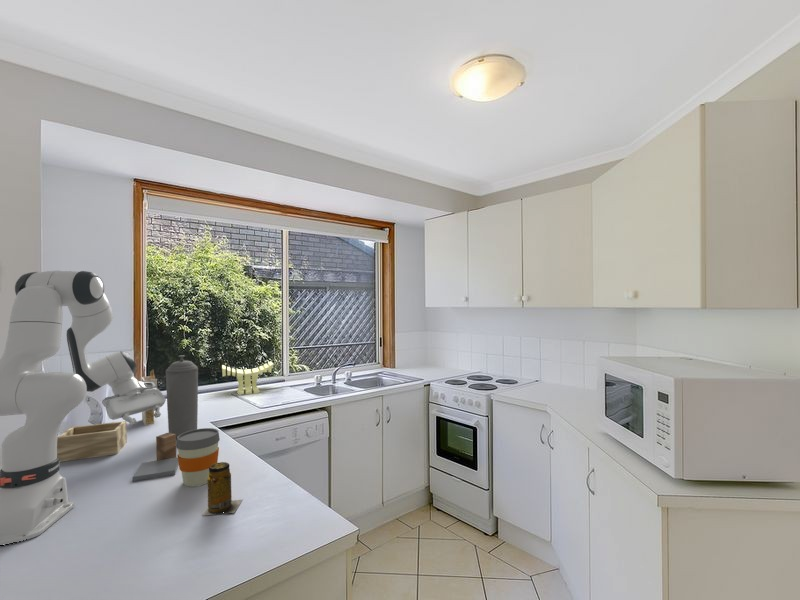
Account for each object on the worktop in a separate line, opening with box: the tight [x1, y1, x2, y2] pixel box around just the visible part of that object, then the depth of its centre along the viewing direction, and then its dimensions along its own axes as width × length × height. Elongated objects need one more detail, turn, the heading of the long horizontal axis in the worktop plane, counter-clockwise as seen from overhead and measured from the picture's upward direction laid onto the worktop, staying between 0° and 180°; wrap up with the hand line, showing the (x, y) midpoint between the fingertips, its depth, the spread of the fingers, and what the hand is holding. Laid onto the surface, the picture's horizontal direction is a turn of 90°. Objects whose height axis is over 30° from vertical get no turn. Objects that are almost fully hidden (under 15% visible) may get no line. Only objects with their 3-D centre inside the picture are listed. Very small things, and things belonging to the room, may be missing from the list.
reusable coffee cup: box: [176, 427, 221, 487], centre depth 126 cm, size 13×13×15 cm
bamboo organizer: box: [57, 420, 128, 463], centre depth 152 cm, size 13×18×9 cm
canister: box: [165, 354, 199, 439], centre depth 170 cm, size 13×13×35 cm
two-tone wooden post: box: [140, 369, 158, 426], centre depth 191 cm, size 8×12×26 cm
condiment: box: [202, 461, 243, 516], centre depth 109 cm, size 7×8×12 cm
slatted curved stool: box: [221, 361, 274, 395], centre depth 251 cm, size 30×16×18 cm, turn 114°
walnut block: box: [155, 432, 177, 461], centre depth 143 cm, size 4×4×9 cm
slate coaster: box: [132, 456, 179, 482], centre depth 134 cm, size 12×12×2 cm
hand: (146, 419), depth 148 cm, fingers open, 8 cm apart
